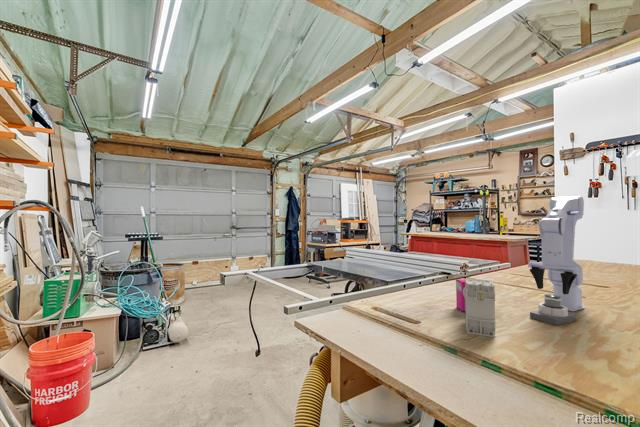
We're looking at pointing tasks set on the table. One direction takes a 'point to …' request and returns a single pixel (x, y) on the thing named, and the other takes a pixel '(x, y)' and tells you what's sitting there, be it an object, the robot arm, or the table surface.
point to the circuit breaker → (480, 307)
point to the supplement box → (460, 294)
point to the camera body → (552, 314)
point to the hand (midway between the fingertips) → (552, 291)
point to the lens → (552, 301)
